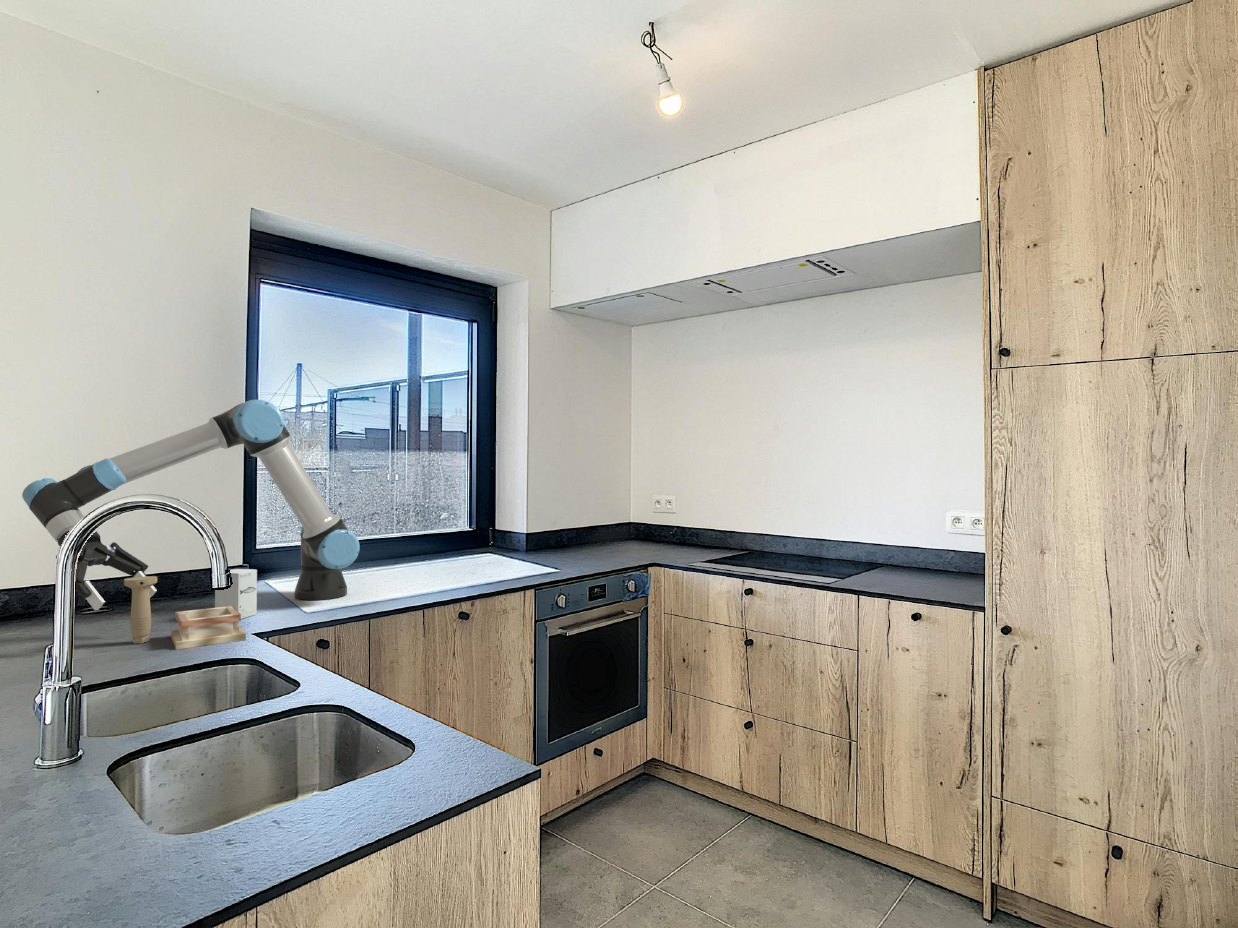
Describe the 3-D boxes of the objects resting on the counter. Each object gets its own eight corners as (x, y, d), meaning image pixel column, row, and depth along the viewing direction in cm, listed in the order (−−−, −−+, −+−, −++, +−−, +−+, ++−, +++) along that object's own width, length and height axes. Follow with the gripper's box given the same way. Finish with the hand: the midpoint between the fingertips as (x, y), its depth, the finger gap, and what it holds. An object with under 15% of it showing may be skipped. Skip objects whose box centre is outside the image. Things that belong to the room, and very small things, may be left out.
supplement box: (238, 620, 184) (238, 573, 183) (213, 619, 185) (213, 572, 185) (257, 614, 191) (257, 568, 191) (234, 613, 192) (234, 567, 192)
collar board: (236, 628, 176) (236, 604, 176) (245, 639, 164) (245, 614, 164) (170, 636, 167) (170, 611, 167) (176, 649, 156) (176, 622, 156)
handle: (123, 642, 162) (123, 578, 162) (156, 637, 166) (156, 575, 166) (124, 646, 158) (124, 581, 158) (158, 642, 162) (158, 578, 162)
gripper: (113, 538, 177) (162, 600, 174) (9, 551, 153) (65, 623, 150) (130, 518, 176) (180, 580, 173) (29, 528, 152) (85, 599, 149)
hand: (127, 600), depth 162 cm, fingers open, 13 cm apart
